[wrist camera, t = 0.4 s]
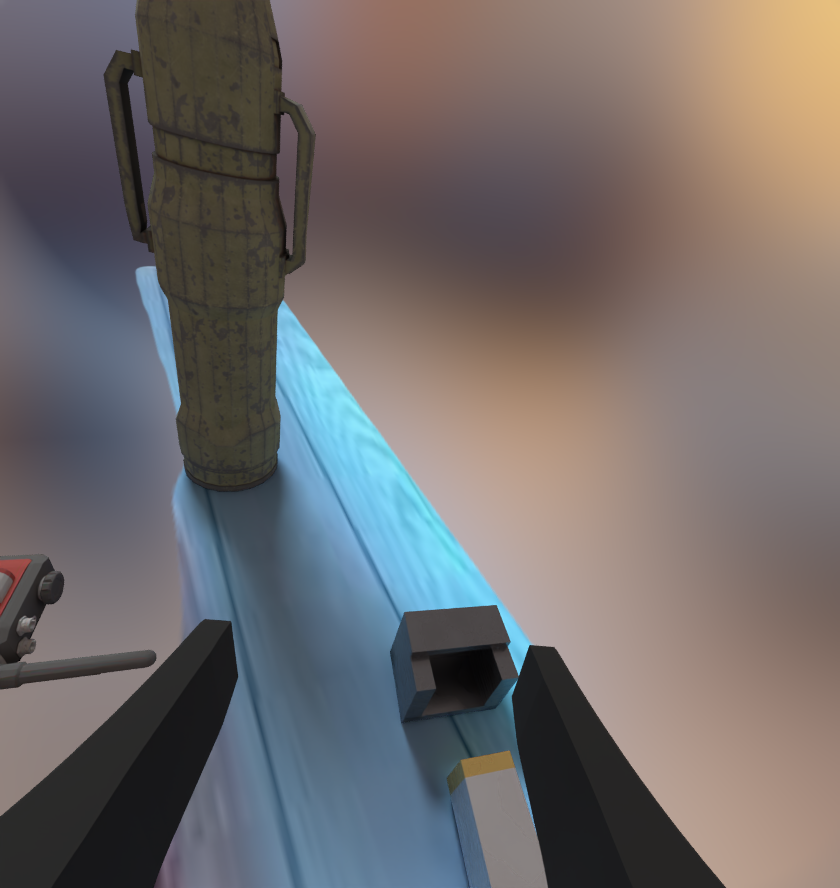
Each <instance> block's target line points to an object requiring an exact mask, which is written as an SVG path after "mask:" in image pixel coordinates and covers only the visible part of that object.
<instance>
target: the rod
mask: <svg viewBox="0 0 840 888" xmlns="http://www.w3.org/2000/svg"><path fill="white" fill-rule="evenodd" d="M447 782H448V787H449V791H450V796H451V801H452V806H453V810H454V815H455V820H456V824H457V829H458V834H459V839H460V843H461V848H462V853H463V857H464V862H465V867H466V872H467V876H468V881H469V886H470V888H548V885H547V880H546V875H545V869H544V864H543V860H542V855H541V850H540V846H539V841H538V838H537V835H536V831H535V828H534V825H533V822H532V819H531V816H530V813H529V809H528V806H527V803H526V800H525V797H524V794H523V791H522V787H521V784H520V781H519V778H518V775H517V772H516V769H515V765H514V762H513V759H512V756H511V753H510V751H504V752H499V753H494V754H489V755H484V756H479V757H473V758H468V759H463V760H460V762H459V763H458V764H457V766H456V767H455V768H454V769H453V771H452V772H451V773H450V774H449V776H448V777H447Z"/></svg>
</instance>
